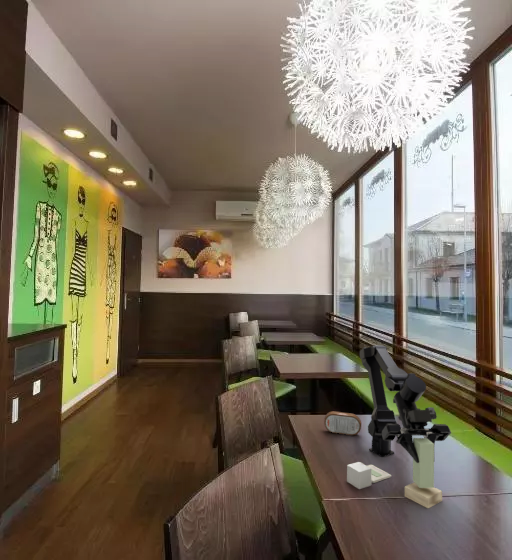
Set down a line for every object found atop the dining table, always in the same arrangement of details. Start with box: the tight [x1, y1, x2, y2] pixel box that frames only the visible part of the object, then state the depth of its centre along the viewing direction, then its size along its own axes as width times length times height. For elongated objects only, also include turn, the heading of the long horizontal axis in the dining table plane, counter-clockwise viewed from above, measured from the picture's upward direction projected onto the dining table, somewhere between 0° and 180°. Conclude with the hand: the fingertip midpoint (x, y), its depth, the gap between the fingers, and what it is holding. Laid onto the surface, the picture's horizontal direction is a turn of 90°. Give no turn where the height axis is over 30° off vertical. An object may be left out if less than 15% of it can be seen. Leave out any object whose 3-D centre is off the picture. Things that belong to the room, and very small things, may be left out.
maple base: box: [404, 481, 443, 509], centre depth 102 cm, size 7×7×3 cm
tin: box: [323, 410, 362, 436], centre depth 149 cm, size 15×3×8 cm, turn 74°
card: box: [367, 464, 392, 484], centre depth 115 cm, size 8×8×1 cm
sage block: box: [412, 437, 435, 488], centre depth 102 cm, size 4×4×12 cm
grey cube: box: [346, 461, 372, 490], centre depth 109 cm, size 5×5×5 cm
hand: (425, 462), depth 101 cm, fingers closed on sage block, 4 cm apart
